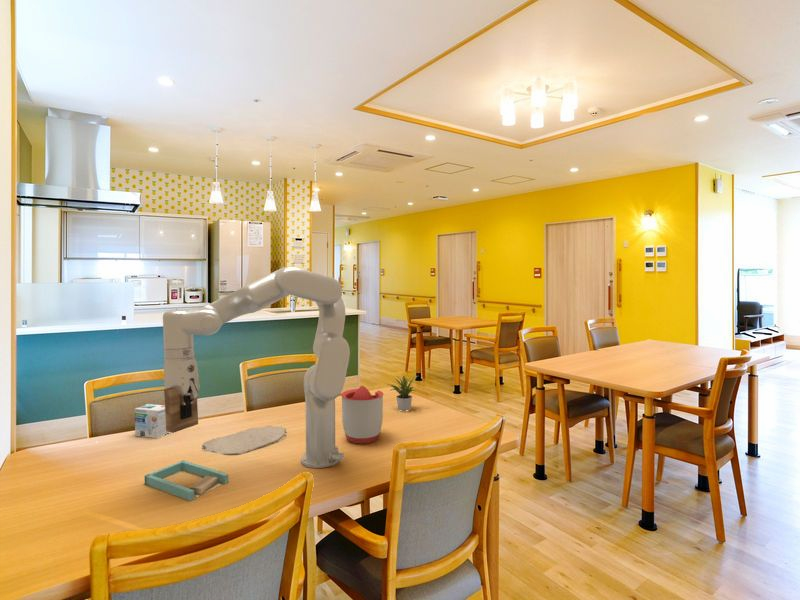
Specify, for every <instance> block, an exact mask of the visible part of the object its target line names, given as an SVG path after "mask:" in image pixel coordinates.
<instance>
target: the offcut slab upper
mask: <svg viewBox="0 0 800 600" xmlns="http://www.w3.org/2000/svg"><path fill="white" fill-rule="evenodd" d="M216 484H219V482H218V477H211V476H206V477H202V478H201V479H200V480H197V482H195V483H194V484H192V485H191V486H189V489H192V490H194V494H196V495H201V496H203V495H205V494H206V493H205V492H206V491H208V490H209V489H211V488H212V487H213V486H215V485H216ZM204 493H205V494H204ZM202 494H203V495H202Z"/></svg>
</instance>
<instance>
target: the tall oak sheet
mask: <svg viewBox="0 0 800 600" xmlns="http://www.w3.org/2000/svg"><path fill="white" fill-rule="evenodd" d="M163 391H164V392H163V393H164V394H163V396H164V405H165V417H166V431H167V432H171V433H172V434H173V433H177V432H180V431H183V430H185V429H188V428H191V427H193V426H194V427H195V426H197V425H199V413H198V409H199V408H198V396H197V397H196V398H194V400H193V403H191V406H192V416H191V417H189V418H186V419H181V415H180V406H181V405H182V404H181V395H180V394H178V392H177V389H175V388H167V389H165V388H164V389H163ZM186 397H188V396H185V399H186ZM171 433H170V434H171Z"/></svg>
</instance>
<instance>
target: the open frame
mask: <svg viewBox="0 0 800 600" xmlns="http://www.w3.org/2000/svg"><path fill="white" fill-rule="evenodd" d="M182 471H184V472H187V473H190V474H194V475H196V476H200V477H202V478H204V477H206V476H211V477H218V483H219V484H223V485H225V484H227V483H229V474H228V473H225V472H222V471H219V470H216V469H213V468H209V467H206V466H203V465H200V464H196V463H193V462H191V461H187V460H183V459H182V460H181V461H178V462H175V463H173V464H170V465H168V466H166V467H163V468H160V469H158V470H155V471H153V472H151V473H147V474H145V475H144V485H146V486H149V487H151V488H154V489H158V490H160V491H163V492H165V493H168V494H171V495H174V496H175V497H179V498H182V499H184V500H186V501H189V502H191V501H193V500H195V497H194V490H192V489H190V487H189V488H188V487H185V486H184V485H181V484H178V483H175V482H173V481H169V480H166V479H164V478H167V477H169V476H172V475H174V474H177V473H179V472H182Z"/></svg>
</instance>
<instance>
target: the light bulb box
mask: <svg viewBox="0 0 800 600" xmlns="http://www.w3.org/2000/svg"><path fill="white" fill-rule="evenodd" d="M134 431H135V433H134V434H135V435H134V436H135V437H139V436H144V437H143V438H147V437H153V438H152V439H155V438H158V437H161V436H163V435H165V434H167V433H169V432H167V431H166V417H165V404H163V405H162V404H153V403H152V404H151V403H147V404H144V405H141V406H139V407H135V408H134ZM165 436H166V435H165ZM163 437H164V436H163ZM161 438H162V437H161Z"/></svg>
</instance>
